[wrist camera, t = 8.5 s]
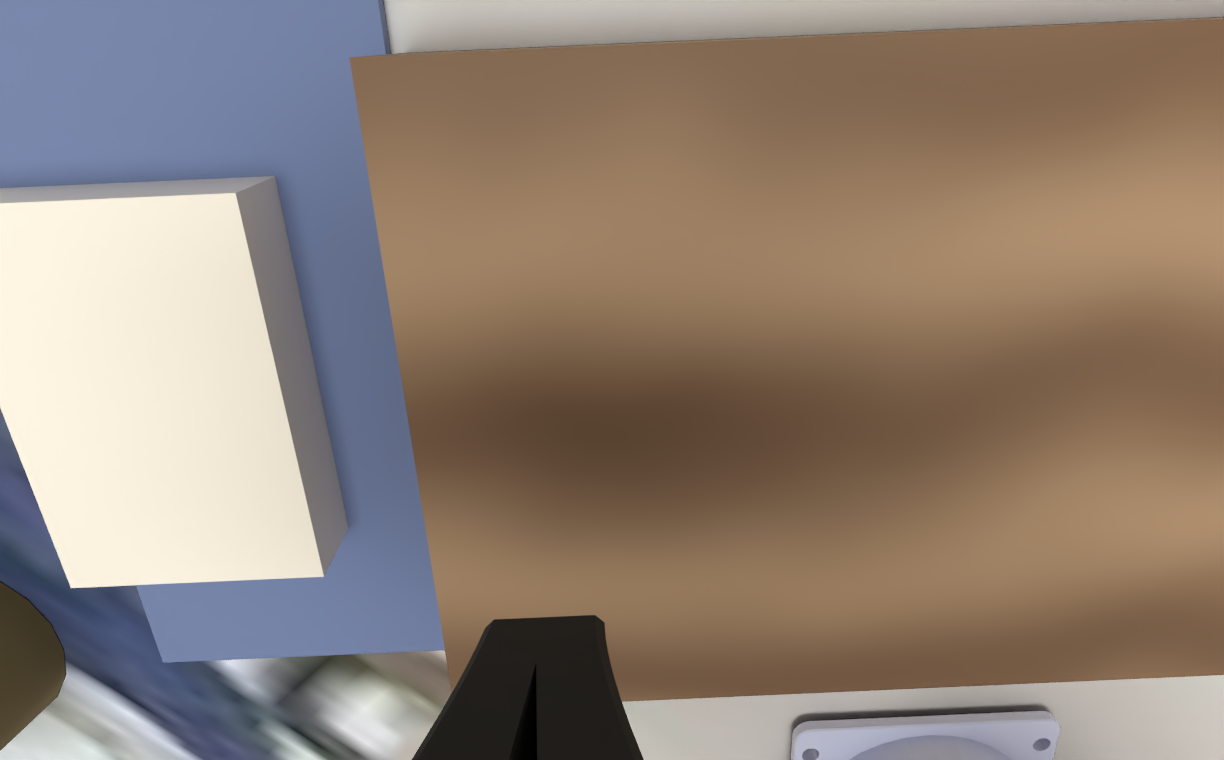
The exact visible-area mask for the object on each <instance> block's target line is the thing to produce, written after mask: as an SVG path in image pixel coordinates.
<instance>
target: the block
mask: <svg viewBox="0 0 1224 760" xmlns="http://www.w3.org/2000/svg"><path fill="white" fill-rule="evenodd" d="M0 408H1V411H2V413H3V416H4V418H5V421H6V423H7V426H8V429H9V431H10V434H11V436H12V439H13V441H14V444H15V446H16V449H17V451H18V454H19V457H20V459H21V462H22V464H23V467H24V469H25V472H26V474H27V477H28V480H29V482H30V485H31V487H32V490H33V492H34V495H35V497H36V500H37V502H38V505H39V508H40V510H41V513H42V515H43V518H44V520H45V523H46V525H47V528H48V531H49V533H50V536H51V538H52V541H53V543H54V546H55V548H56V551H57V553H58V556H59V559H60V561H61V564H62V566H63V569H64V571H65V574H66V576H67V579H68V582H69V584H70V587H71V588H83V587H105V586H128V585H150V584H173V583H195V582H217V581H240V580H262V579H285V578H307V577H324V576H325V574H326V572H327V570H328V568H329V566H330V564H331V562H332V560H333V558H334V556H335V554H336V552H337V550H338V548H339V546H340V544H341V542H342V540H343V538H344V536H345V534H346V532H347V530H348V524H347V519H346V514H345V510H344V505H343V500H342V495H341V490H340V486H339V481H338V476H337V471H336V466H335V462H334V457H333V452H332V447H331V442H330V438H329V433H328V428H327V423H326V419H325V414H324V409H323V404H322V399H321V395H320V390H319V385H318V380H317V375H316V371H315V366H314V361H313V356H312V352H311V347H310V342H309V337H308V332H307V328H306V323H305V318H304V313H303V308H302V304H301V299H300V294H299V289H298V284H297V280H296V275H295V270H294V265H293V261H292V256H291V251H290V246H289V241H288V237H287V232H286V227H285V222H284V217H283V213H282V208H281V203H280V198H279V193H278V189H277V184H276V179H275V176H263V177H241V178H218V179H196V180H173V181H151V182H128V183H105V184H83V185H60V186H38V187H15V188H0Z"/></svg>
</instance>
